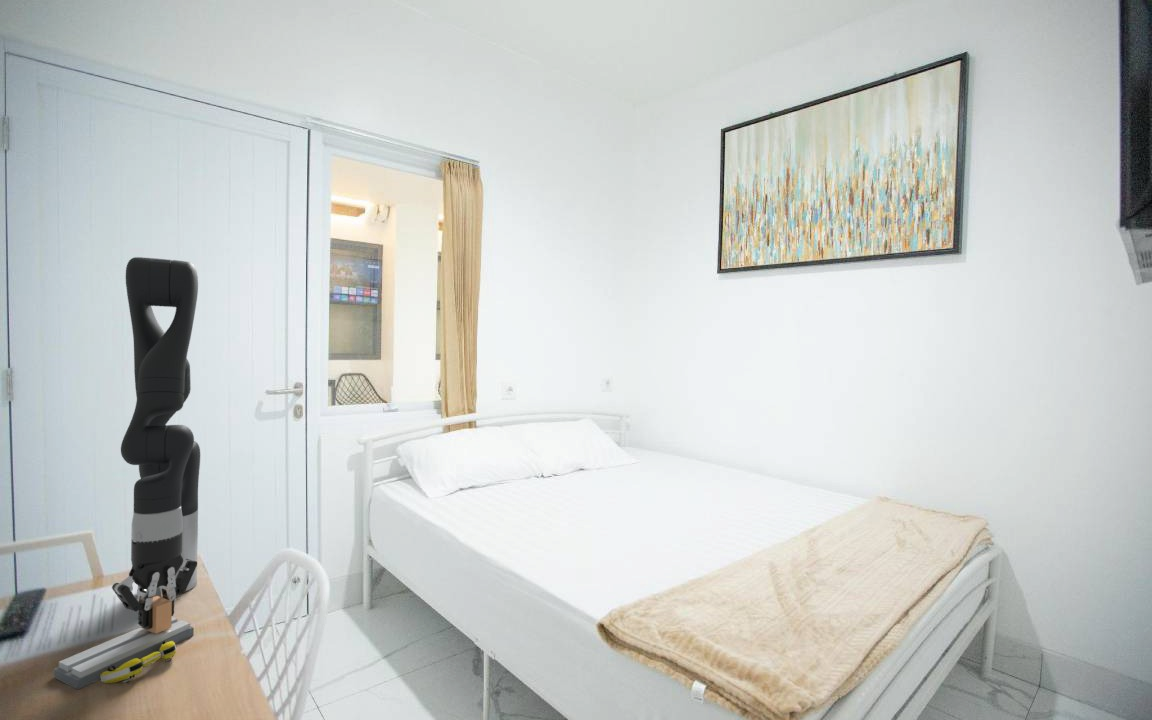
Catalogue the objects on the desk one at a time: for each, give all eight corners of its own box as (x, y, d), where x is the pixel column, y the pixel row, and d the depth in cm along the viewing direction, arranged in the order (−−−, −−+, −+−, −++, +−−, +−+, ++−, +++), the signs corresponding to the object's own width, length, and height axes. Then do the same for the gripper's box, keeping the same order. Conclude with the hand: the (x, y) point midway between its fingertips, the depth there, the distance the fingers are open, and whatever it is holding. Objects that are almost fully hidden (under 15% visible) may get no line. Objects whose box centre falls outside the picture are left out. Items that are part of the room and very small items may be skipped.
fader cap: (156, 639, 99) (156, 607, 99) (141, 633, 101) (141, 601, 100) (171, 632, 101) (171, 600, 101) (156, 627, 103) (157, 595, 103)
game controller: (126, 686, 87) (121, 665, 88) (102, 691, 89) (98, 670, 90) (188, 654, 97) (183, 634, 97) (166, 659, 99) (161, 640, 99)
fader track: (77, 689, 87) (77, 673, 87) (53, 677, 90) (54, 662, 90) (193, 635, 104) (193, 621, 104) (170, 626, 107) (170, 613, 106)
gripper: (184, 518, 108) (183, 603, 109) (100, 541, 95) (99, 637, 96) (209, 524, 105) (207, 612, 106) (126, 548, 92) (125, 648, 93)
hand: (156, 623), depth 101 cm, fingers closed on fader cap, 2 cm apart
